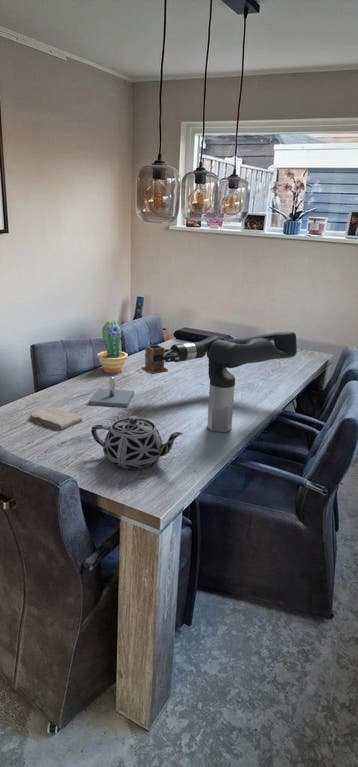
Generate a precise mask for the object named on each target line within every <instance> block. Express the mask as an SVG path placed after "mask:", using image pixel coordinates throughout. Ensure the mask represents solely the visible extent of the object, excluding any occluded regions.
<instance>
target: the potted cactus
mask: <svg viewBox="0 0 358 767" xmlns="http://www.w3.org/2000/svg"><path fill="white" fill-rule="evenodd" d="M101 331H102V332H101V334H102V338H103V341H104V344H105V347H106V350H105V351H101V352H98V353H97V355H96V356H97V359H98V360H99V363H100V365H101V366H102V368H103V372H106V373H109V374H110V373H111V374H113V373H114V374H115V373H120V372H122V368H123V366H125V363H126V360H128V353H127V352H125V351H120V341H121V339H122V338H121V337H122V329H121V327H120V325H119V324H118V322H117V321H116V320H106V323H105V324H104V326H103V327H102V329H101Z"/></svg>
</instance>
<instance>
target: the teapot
mask: <svg viewBox="0 0 358 767" xmlns="http://www.w3.org/2000/svg"><path fill="white" fill-rule="evenodd" d="M97 430H107V431H108V432H107V434H106V436H105V439H104V441H103V439H102V438H100V436H99V435H98V432H97ZM90 433H91V436H92V438H93V440H95V442H96V443H97V444H98V445H100V446H101V447H102V452H103V454H104V457H105V458H106V459H107V460H108V461H109V462H110V463H111V464H113V465H114V466H116V467H118V468H121V469H126V470H141V469H145V468H148V467H150V466H152V465H153V464H154V463H156V462H157V461H158V460H159V459H160V458H161V457H164V456H167V455H168V454H169V453H170V452H171V450H172V448H173V445H174V442H175V440H176V439H177V438H178V437H179V436H182V435H184V432H180V431H176V432H172V433H171V434H170V435H169V437H168V439H167V441H166V442H165V443H163V440H162V437H161V435H160V432H159V430H158V428H157V426H156V424H155V423H154V422H152V421H151V420H148V419H144V418H140V417H139V416H136V415H131V416H128V418H122V419H120V420H119V419H118V420H116V421H114V422H113V423H112V424H111V425H106V424H95V425H93V426H91V428H90Z"/></svg>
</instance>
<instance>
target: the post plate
mask: <svg viewBox="0 0 358 767" xmlns="http://www.w3.org/2000/svg"><path fill="white" fill-rule="evenodd" d="M108 383H109V384H108V387H109V388H97V389H96V391H95V393H93V395H92V396H91V397H90V399H89V400H88V405H90V406H91V405H94V406H104V407H105V406H107V407H120V408H121V407H122V408H128V407H129V404H130V402H131V401H132V399H133V397H134V396H135V390H125V389H116V378H115V377H114V376H110V377H109V379H108Z"/></svg>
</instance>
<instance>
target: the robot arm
mask: <svg viewBox="0 0 358 767" xmlns="http://www.w3.org/2000/svg"><path fill="white" fill-rule="evenodd" d="M272 341H273V342H272ZM297 352H298V348H297V334H296V332H294V331H279V332H271V333H265V334H261V335H259V334H258V335H255V336H250V337H239V338H238V337H237V338H229V339H227V340H223V339H222V338H221V337H220V336H218V335H211V336H208V337H206V338H204V339H202V340H200V341H195V342H182V343H176V344H172V345H171V346H170V348H164V355H159V356H153V361H154V362H157V361H164V363H172V362H175V363H181V362H187V361H192V360H195V359H202V358H204V357H205V356H206V357H207V359H208V378H209V390H208V406H207V407H208V408H207V425H206V427H207V429H209V430H210V432H217V433H218V432H219V433H228V431H231V430H232V429H231V428H232V427H233V417H234V416H233V413H234V404H235V403H234V402H235V400H234V398H235V387H236V378H235V376H234V374H232V373H231V372H230V371H229V370H228V369H235V368H238V367H241V366H244V365H247V364H256V363H263V362H267V361H271V360H281V359H289V358H290V359H291V358H293V357H295V356H296V355H297ZM230 429H231V430H230Z"/></svg>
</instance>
